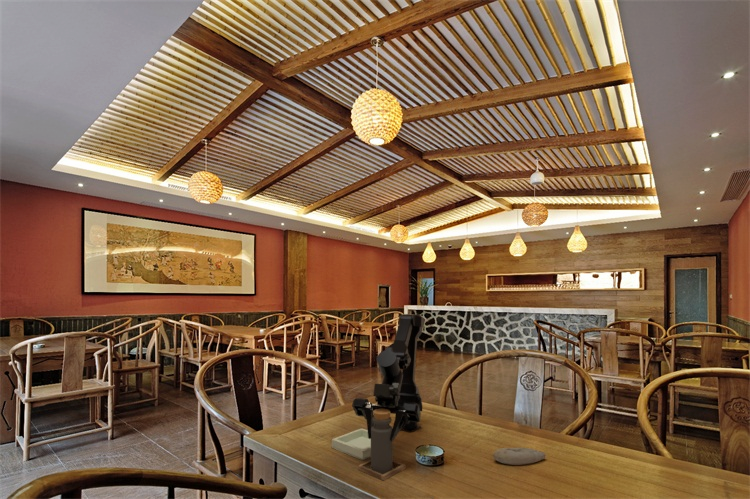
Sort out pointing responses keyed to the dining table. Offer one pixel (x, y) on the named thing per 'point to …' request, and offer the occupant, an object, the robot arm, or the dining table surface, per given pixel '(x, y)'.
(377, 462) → the bottle
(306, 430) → the dining table surface
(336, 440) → the tray
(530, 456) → the decorative stone
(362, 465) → the seat frame
